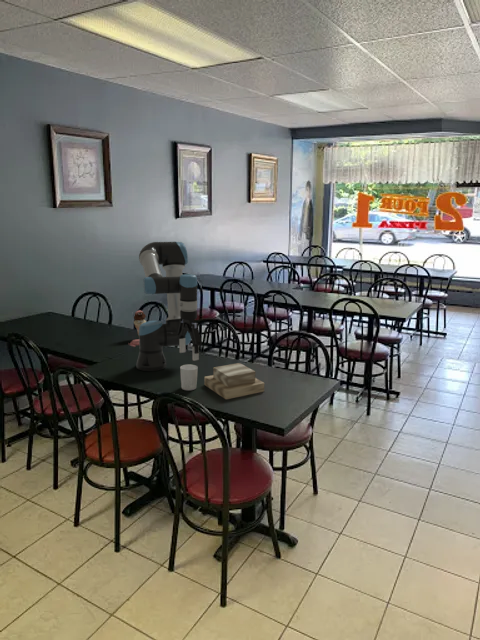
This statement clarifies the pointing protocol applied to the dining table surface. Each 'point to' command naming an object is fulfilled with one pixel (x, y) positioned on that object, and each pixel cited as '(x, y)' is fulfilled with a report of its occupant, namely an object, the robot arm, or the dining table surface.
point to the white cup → (188, 376)
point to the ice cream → (138, 324)
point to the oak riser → (233, 381)
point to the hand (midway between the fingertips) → (188, 356)
